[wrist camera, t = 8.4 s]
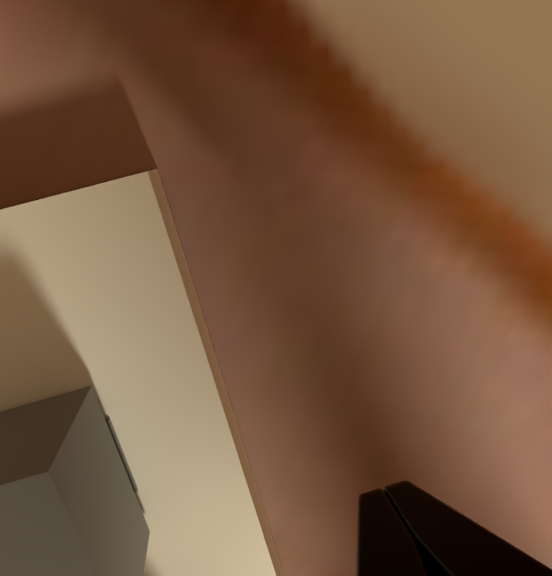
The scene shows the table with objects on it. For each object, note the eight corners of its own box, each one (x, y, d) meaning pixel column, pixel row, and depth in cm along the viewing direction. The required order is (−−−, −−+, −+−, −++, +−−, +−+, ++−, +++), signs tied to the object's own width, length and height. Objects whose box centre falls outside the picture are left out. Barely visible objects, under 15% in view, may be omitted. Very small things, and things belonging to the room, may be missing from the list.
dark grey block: (91, 385, 11) (48, 471, 8) (149, 530, 12) (131, 653, 9) (-49, 425, 10) (-146, 528, 8) (25, 569, 12) (-35, 706, 9)
